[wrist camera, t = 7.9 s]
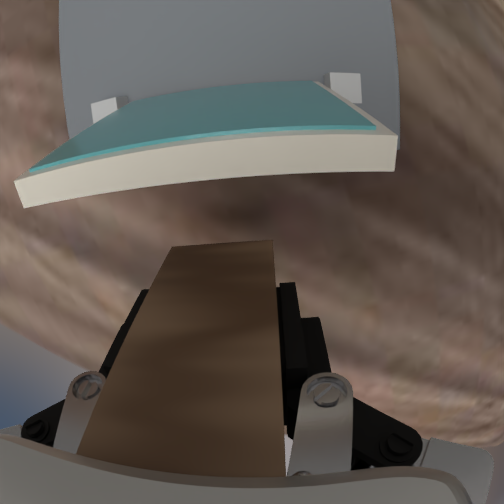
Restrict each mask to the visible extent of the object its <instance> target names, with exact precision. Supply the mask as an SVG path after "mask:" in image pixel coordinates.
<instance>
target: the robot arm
mask: <svg viewBox="0 0 504 504" xmlns="http://www.w3.org/2000/svg"><path fill="white" fill-rule="evenodd" d="M148 291H149V289H144V290H142V291H141V292H140V294H139V296H138V298H137V300H136V302H135V304H134V306H133V307H132V309H131V311H130V313H129V315H128V317H127V319H126V321H125V323H124V324H123V325H122V326H121V328H120V330H119V332H118V334H117V336H116V338H115V340H114V342H113V344H112V346H111V348H110V350H109V352H108V354H107V356H106V358H105V360H104V362H103V364H102V366H101V368H100V370H99V372H97V371H88V372H84V373H82V374H80V375H78V376H77V377H75V378H74V380H73V381H72V382H71V384H70V386H69V389H68V392H67V395H66V399H64V400H62V401H60V402H58V403H56V404H54V405H52V406H51V407H49V408H47V409H45V410H43V411H41V412H39V413H37V414H35V415H33V416H31V417H30V418H28V419H27V420H26V422H25V423H24V425H23V426H21V425H16V426H12V427H9V428H5V429H1V430H0V504H485V503H486V499H487V495H488V491H489V487H490V483H491V478H492V473H493V469H494V461H493V459H492V456H491V455H490V454H489V453H488V452H487V451H486V450H483V449H481V448H476V447H471V446H466V445H461V444H457V443H452V442H448V441H444V440H440V439H436V438H432V437H431V438H430V440H427V439H423V438H421V436H420V435H419V434H418V432H417V431H416V430H414V429H413V428H411V427H409V426H407V425H405V424H403V423H401V422H399V421H398V420H396V419H394V418H392V417H390V416H388V415H386V414H384V413H382V412H380V411H378V410H376V409H374V408H373V407H371V406H369V405H367V404H365V403H363V402H361V401H360V400H358V399H356V398H354V397H353V390H352V386H351V384H350V383H349V381H348V380H347V379H346V378H344V377H343V376H341V375H338V374H336V373H331V368H330V363H329V358H328V354H327V349H326V344H325V340H324V335H323V331H322V326H321V322H320V318H319V317H311V318H301V317H300V311H299V304H298V298H297V292H296V286H295V282H289V283H280V287H276V296H277V311H278V327H279V344H280V361H281V379H282V398H283V419H284V425H287V434H288V437H289V438H291V439H292V440H293V445H292V451H291V456H290V461H289V467H288V472H287V476H286V477H214V476H199V475H187V474H177V473H168V472H161V471H154V470H147V469H141V468H135V467H129V466H124V465H119V464H114V463H110V462H105V461H101V460H96V459H92V458H88V457H84V456H81V455H77V454H76V452H77V450H78V447H79V444H80V442H81V439H82V437H83V434H84V432H85V429H86V427H87V424H88V422H89V419H90V417H91V414H92V412H93V409H94V407H95V405H96V402H97V400H98V398H99V395H100V393H101V391H102V388H103V386H104V384H105V381H106V379H107V377H108V375H109V372H110V370H111V368H112V366H113V364H114V361H115V359H116V357H117V355H118V353H119V350H120V348H121V346H122V344H123V342H124V340H125V338H126V336H127V334H128V331H129V329H130V327H131V325H132V323H133V321H134V319H135V317H136V315H137V313H138V311H139V309H140V307H141V305H142V303H143V301H144V299H145V297H146V295H147V293H148Z"/></svg>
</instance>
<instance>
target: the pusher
mask: <svg viewBox="0 0 504 504" xmlns="http://www.w3.org/2000/svg"><path fill="white" fill-rule="evenodd" d="M76 454H77V455H81V456H84V457H88V458H92V459H96V460H101V461H105V462H110V463H114V464H119V465H124V466H129V467H135V468H141V469H147V470H154V471H161V472H168V473H177V474H187V475H199V476H214V477H286V468H285V443H284V419H283V398H282V379H281V361H280V344H279V327H278V311H277V296H276V282H275V267H274V254H273V240H262V241H247V242H232V243H218V244H204V245H190V246H176V247H172V248H171V250H170V252H169V253H168V255H167V257H166V259H165V261H164V263H163V264H162V266H161V268H160V270H159V272H158V274H157V276H156V278H155V280H154V282H153V283H152V285H151V287H150V289H149V291H148V293H147V295H146V297H145V299H144V301H143V303H142V305H141V307H140V309H139V311H138V313H137V315H136V317H135V319H134V321H133V323H132V325H131V327H130V329H129V331H128V334H127V336H126V338H125V340H124V342H123V344H122V346H121V348H120V350H119V353H118V355H117V357H116V359H115V361H114V364H113V366H112V368H111V370H110V372H109V375H108V377H107V379H106V381H105V384H104V386H103V388H102V391H101V393H100V395H99V398H98V400H97V402H96V405H95V407H94V409H93V412H92V414H91V417H90V419H89V422H88V424H87V427H86V429H85V432H84V434H83V437H82V439H81V442H80V444H79V447H78V450H77V452H76Z"/></svg>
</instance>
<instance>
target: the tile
mask: <svg viewBox="0 0 504 504" xmlns="http://www.w3.org/2000/svg"><path fill="white" fill-rule="evenodd" d="M397 140H398V135H396V134H395V133H394V132H392V131H391V130H390V129H388V128H387V127H386V126H384V125H383V124H382V123H380V122H379V121H378V120H376V119H375V118H373V117H372V116H371V115H369V114H368V113H366V112H365V111H363V110H362V109H360V108H359V107H358V106H356V105H355V104H353V103H352V102H350V101H349V100H347V99H345V98H344V97H342V96H341V95H339V94H338V93H336V92H334V91H333V90H331V89H330V88H328V87H326V86H325V85H323V84H321V83H320V82H313V81H278V82H260V83H247V84H236V85H226V86H218V87H209V88H202V89H195V90H188V91H182V92H176V93H170V94H165V95H159V96H154V97H149V98H144V99H140V100H135V101H132V102H130V103H128V104H126V105H125V106H123V107H121V108H119V109H117V110H116V111H114V112H112V113H111V114H109V115H107V116H105V117H104V118H102V119H100V120H99V121H97V122H96V123H94V124H92V125H91V126H89V127H88V128H86V129H84V130H83V131H81V132H80V133H78V134H77V135H75V136H74V137H72V138H71V139H69V140H68V141H66V142H65V143H63V144H62V145H61V146H59V147H58V148H56V149H55V150H53V151H52V152H51V153H49V154H48V155H47V156H45V157H44V158H43V159H41V160H40V161H39V162H37V163H36V164H35V165H33V166H32V167H31V168H29V169H28V170H27V171H26V172H24V173H23V174H22V175H21V176H19V177H18V178H17V179H16V180H15V181H14V183H15V186H16V189H17V191H18V194H19V197H20V199H21V202H22V204H23V206H24V208H27V207H32V206H37V205H42V204H47V203H52V202H57V201H62V200H68V199H73V198H79V197H84V196H90V195H96V194H102V193H109V192H115V191H122V190H129V189H136V188H143V187H151V186H158V185H166V184H175V183H184V182H193V181H202V180H213V179H224V178H235V177H248V176H262V175H278V174H297V173H321V172H371V171H387V172H394V170H395V161H396V151H397Z"/></svg>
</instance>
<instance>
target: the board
mask: <svg viewBox="0 0 504 504" xmlns="http://www.w3.org/2000/svg"><path fill="white" fill-rule="evenodd" d="M59 45H60V64H61V77H62V87H63V97H64V105H65V113H66V120H67V127H68V133H69V139H71V138H72V137H74V136H75V135H77V134H78V133H80V132H81V131H83V130H84V129H86V128H88V127H89V126H91V125H92V124H94V123H96V122H97V121H99V120H100V119H102V118H104V117H105V116H107V115H109V114H111V113H112V112H114V111H116V110H117V109H119V108H121V107H123V106H125V105H126V104H128V103H130V102H132V101H135V100H140V99H144V98H149V97H154V96H159V95H165V94H170V93H176V92H182V91H188V90H195V89H202V88H209V87H218V86H226V85H236V84H247V83H260V82H278V81H313V82H320V83H321V84H323V85H325V86H326V87H328V88H330V89H331V90H333V91H334V92H336V93H338V94H339V95H341V96H342V97H344V98H345V99H347V100H349V101H350V102H352V103H353V104H355V105H356V106H358V107H359V108H360V109H362V110H363V111H365V112H366V113H368V114H369V115H371V116H372V117H373V118H375V119H376V120H378V121H379V122H380V123H382V124H383V125H384V126H386V127H387V128H388V129H390V130H391V131H392V132H394V133H395V134H396V135H398V140H397V150H400V97H399V75H398V61H397V49H396V39H395V30H394V22H393V14H392V7H391V1H390V0H59Z"/></svg>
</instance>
